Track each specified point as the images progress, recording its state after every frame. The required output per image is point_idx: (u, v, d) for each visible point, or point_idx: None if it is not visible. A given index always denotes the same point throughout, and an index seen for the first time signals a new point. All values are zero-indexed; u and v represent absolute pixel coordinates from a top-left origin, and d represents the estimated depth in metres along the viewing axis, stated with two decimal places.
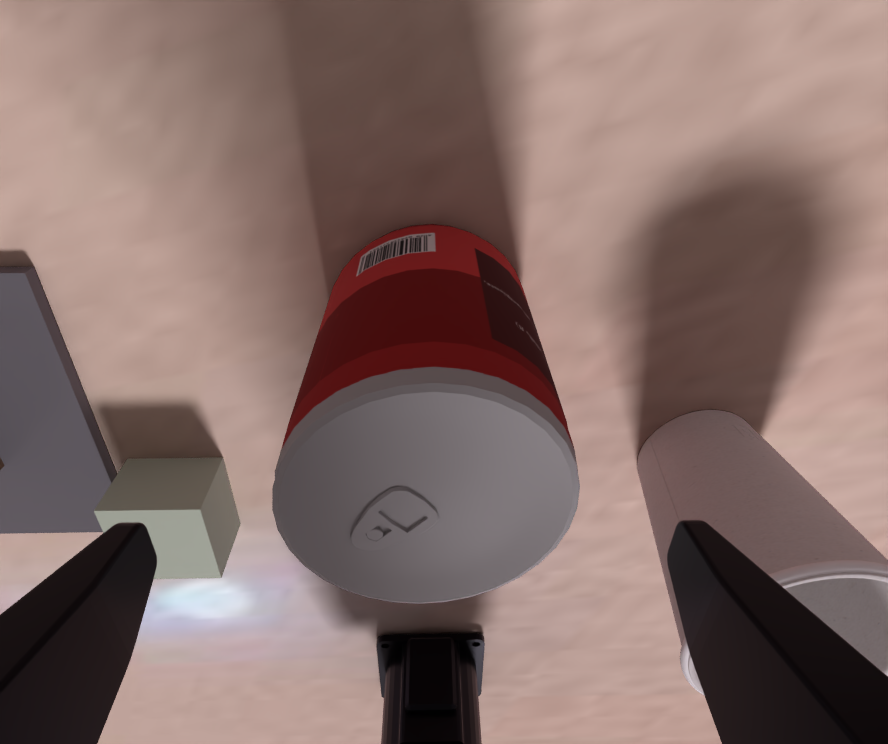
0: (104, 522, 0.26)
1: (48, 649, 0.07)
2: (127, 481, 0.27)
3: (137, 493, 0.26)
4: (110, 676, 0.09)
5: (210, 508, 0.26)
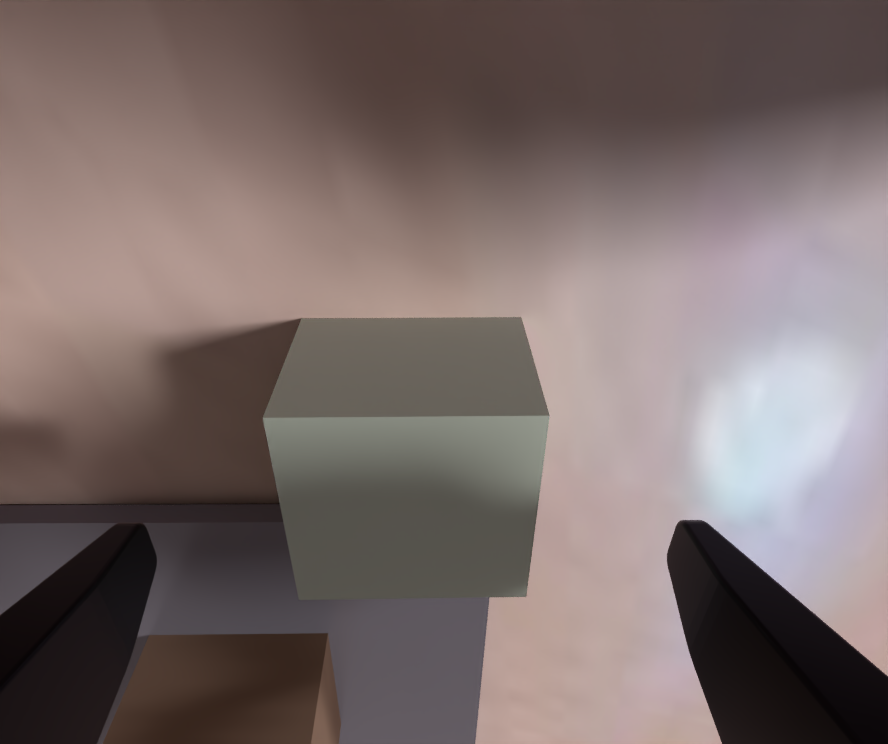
0: (333, 591, 0.12)
1: (48, 649, 0.07)
2: None
3: None
4: (110, 676, 0.09)
5: (325, 384, 0.10)
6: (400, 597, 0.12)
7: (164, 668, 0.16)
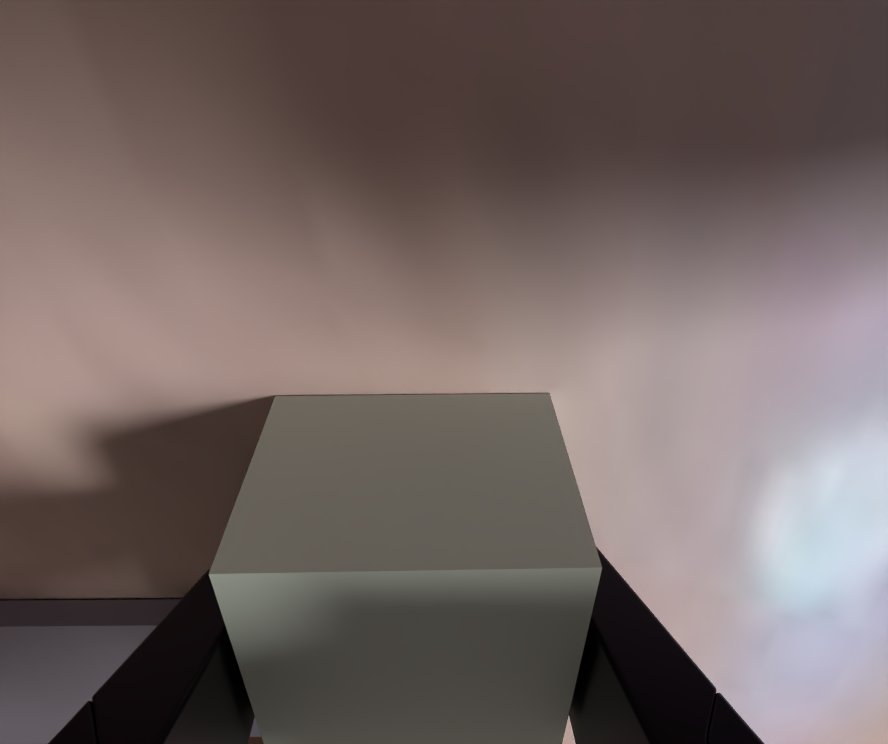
0: None
1: (223, 647, 0.07)
2: None
3: None
4: None
5: (297, 514, 0.07)
6: None
7: None
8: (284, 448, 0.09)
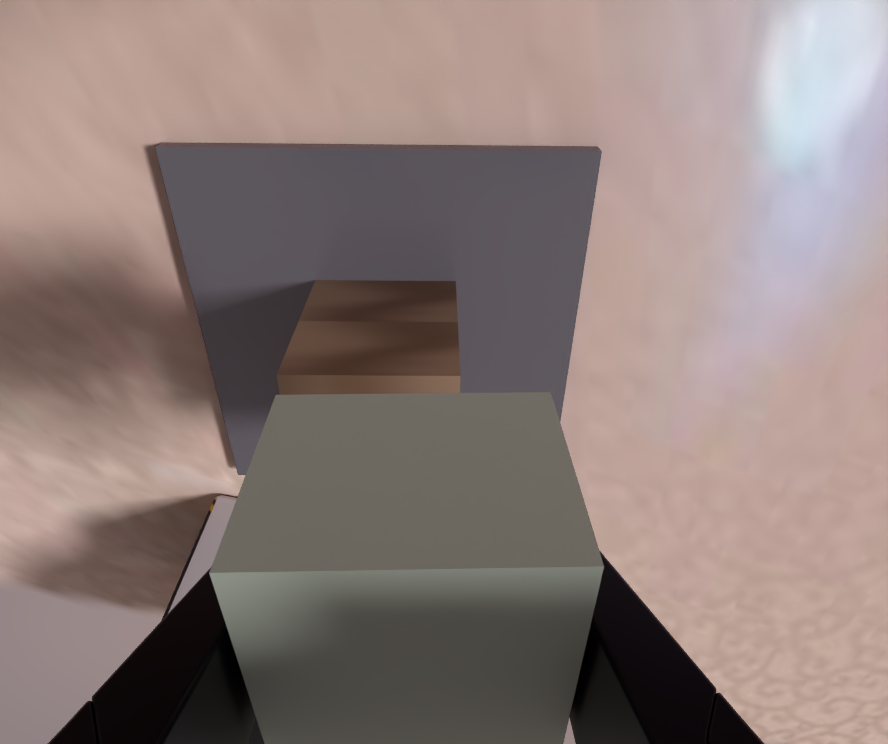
0: None
1: (222, 647, 0.07)
2: None
3: None
4: None
5: (299, 512, 0.07)
6: None
7: (333, 292, 0.20)
8: (285, 447, 0.08)
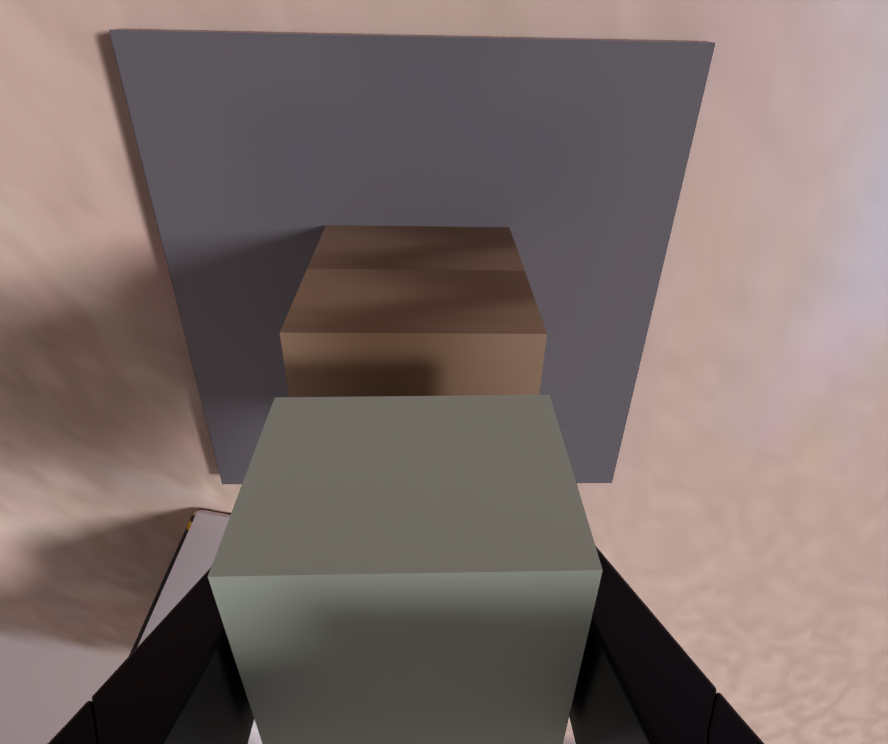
0: None
1: (223, 647, 0.07)
2: None
3: None
4: None
5: (297, 516, 0.07)
6: None
7: (351, 238, 0.15)
8: (283, 450, 0.08)
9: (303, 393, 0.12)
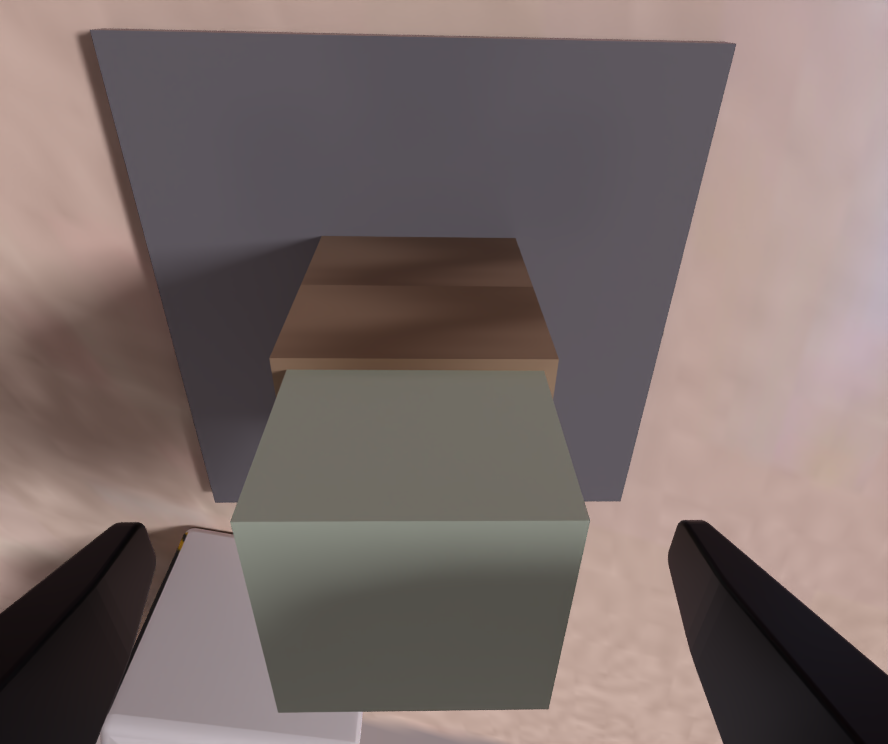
0: (320, 704, 0.10)
1: (47, 649, 0.07)
2: None
3: None
4: (109, 676, 0.09)
5: (310, 472, 0.08)
6: (400, 709, 0.10)
7: (348, 250, 0.14)
8: (296, 415, 0.09)
9: None
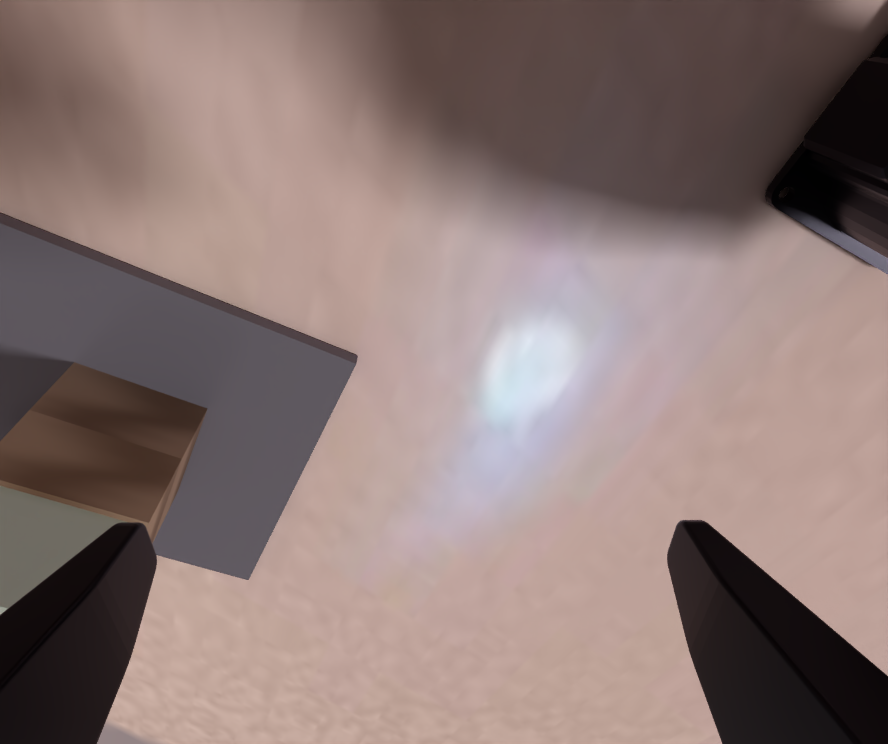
0: None
1: (48, 649, 0.07)
2: None
3: None
4: (110, 676, 0.09)
5: None
6: None
7: (83, 384, 0.21)
8: None
9: None
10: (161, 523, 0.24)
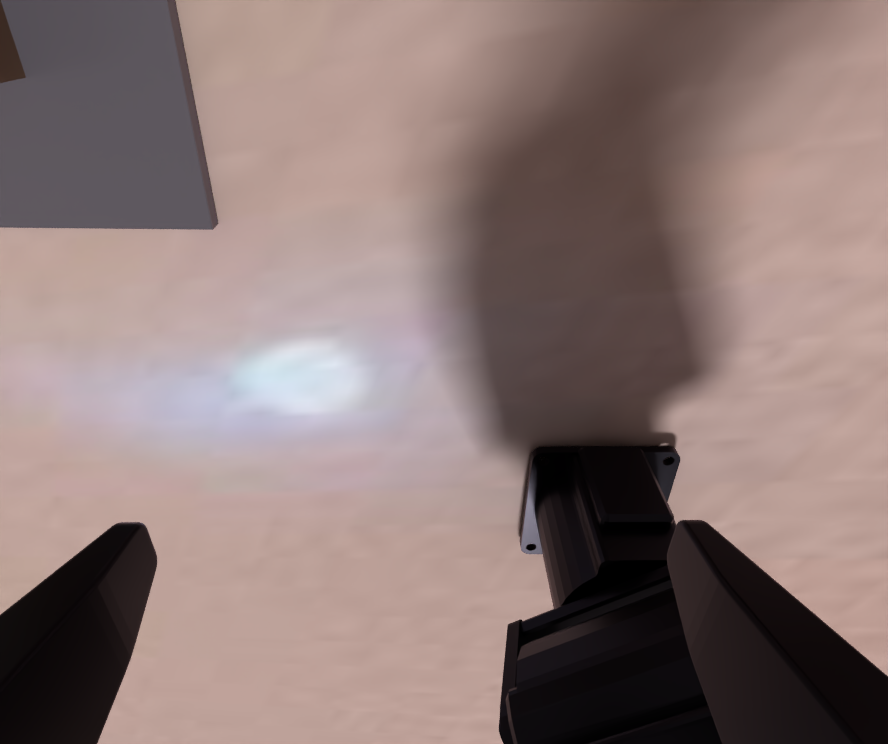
0: None
1: (48, 649, 0.07)
2: None
3: None
4: (110, 676, 0.09)
5: None
6: None
7: None
8: None
9: None
10: None
